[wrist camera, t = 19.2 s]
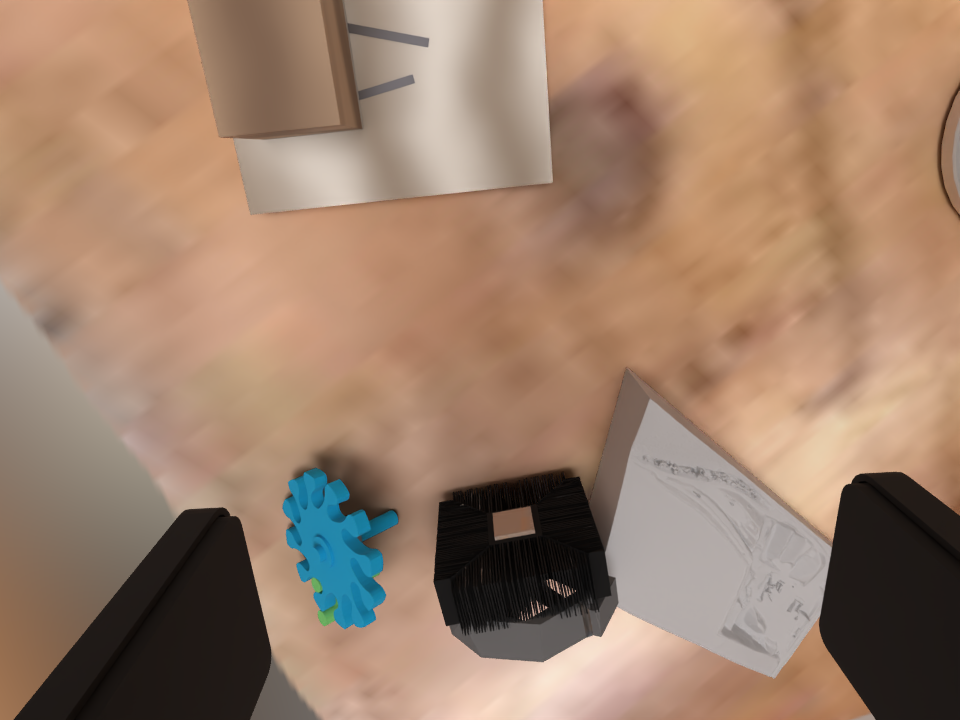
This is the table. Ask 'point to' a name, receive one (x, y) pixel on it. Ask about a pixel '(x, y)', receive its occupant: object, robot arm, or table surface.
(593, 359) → the table surface
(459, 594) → the cpu cooler
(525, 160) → the board
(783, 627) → the ramp
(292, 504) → the gear
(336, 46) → the block
